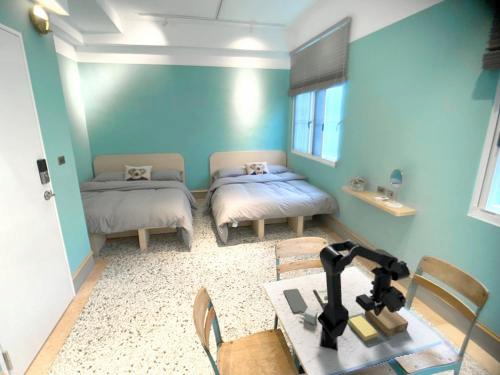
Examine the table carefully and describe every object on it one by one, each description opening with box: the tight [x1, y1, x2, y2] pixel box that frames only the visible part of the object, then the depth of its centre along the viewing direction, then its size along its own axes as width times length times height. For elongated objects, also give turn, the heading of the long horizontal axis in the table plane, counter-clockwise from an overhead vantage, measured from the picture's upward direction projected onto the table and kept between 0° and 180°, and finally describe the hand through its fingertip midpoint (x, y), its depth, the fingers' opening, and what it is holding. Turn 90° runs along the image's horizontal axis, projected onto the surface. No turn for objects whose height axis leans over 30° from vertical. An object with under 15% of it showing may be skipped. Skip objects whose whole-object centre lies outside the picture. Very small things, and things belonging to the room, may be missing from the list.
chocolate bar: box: [312, 288, 350, 317], centre depth 115 cm, size 9×1×18 cm
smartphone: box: [283, 288, 309, 314], centre depth 117 cm, size 8×1×15 cm
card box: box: [349, 315, 378, 342], centre depth 101 cm, size 6×9×2 cm, turn 20°
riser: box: [364, 306, 409, 338], centre depth 104 cm, size 10×12×4 cm
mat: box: [347, 312, 390, 348], centre depth 101 cm, size 10×14×1 cm
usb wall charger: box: [298, 307, 318, 325], centre depth 106 cm, size 4×7×4 cm, turn 59°
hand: (376, 315), depth 102 cm, fingers closed
